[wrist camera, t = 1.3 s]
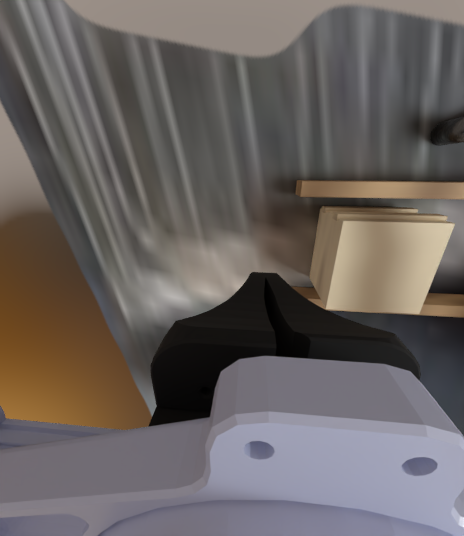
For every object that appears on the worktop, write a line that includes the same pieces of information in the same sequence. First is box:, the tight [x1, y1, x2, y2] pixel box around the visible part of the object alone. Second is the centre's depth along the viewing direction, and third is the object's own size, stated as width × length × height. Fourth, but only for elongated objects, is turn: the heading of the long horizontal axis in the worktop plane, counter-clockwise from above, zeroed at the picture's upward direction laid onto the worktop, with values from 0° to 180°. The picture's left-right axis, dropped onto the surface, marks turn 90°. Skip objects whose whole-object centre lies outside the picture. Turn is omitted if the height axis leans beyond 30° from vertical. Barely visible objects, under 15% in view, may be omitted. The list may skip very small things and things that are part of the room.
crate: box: [309, 206, 455, 314], centre depth 16 cm, size 6×6×5 cm
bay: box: [292, 180, 464, 317], centre depth 17 cm, size 18×10×3 cm, turn 90°
